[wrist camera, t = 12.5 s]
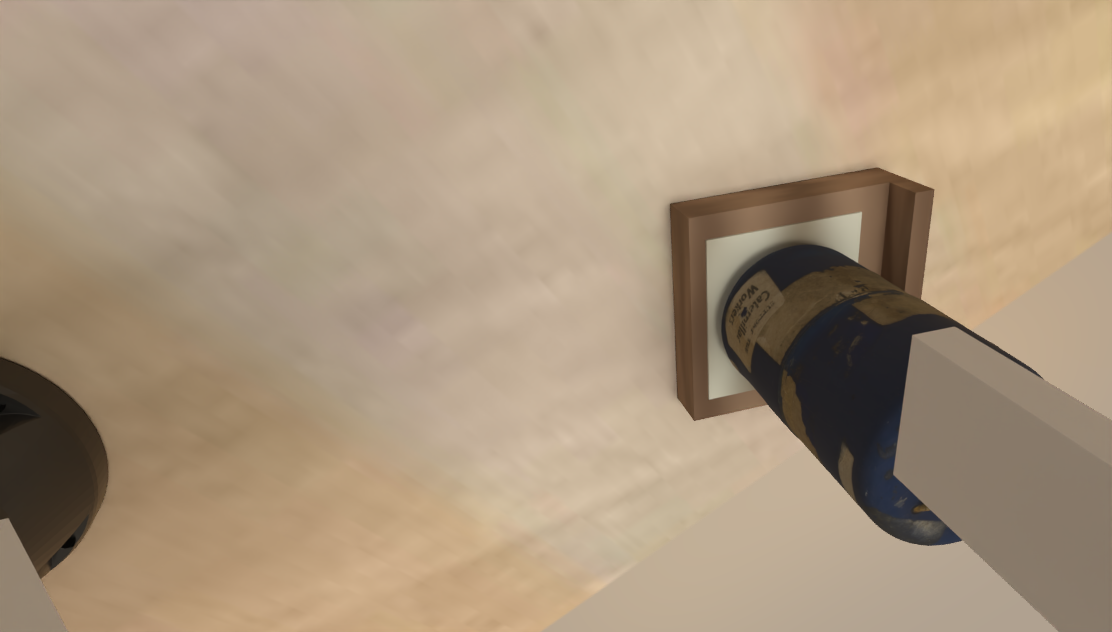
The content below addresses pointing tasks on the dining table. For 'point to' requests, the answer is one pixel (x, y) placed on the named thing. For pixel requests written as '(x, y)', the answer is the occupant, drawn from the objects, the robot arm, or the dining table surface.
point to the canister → (838, 370)
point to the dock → (765, 227)
